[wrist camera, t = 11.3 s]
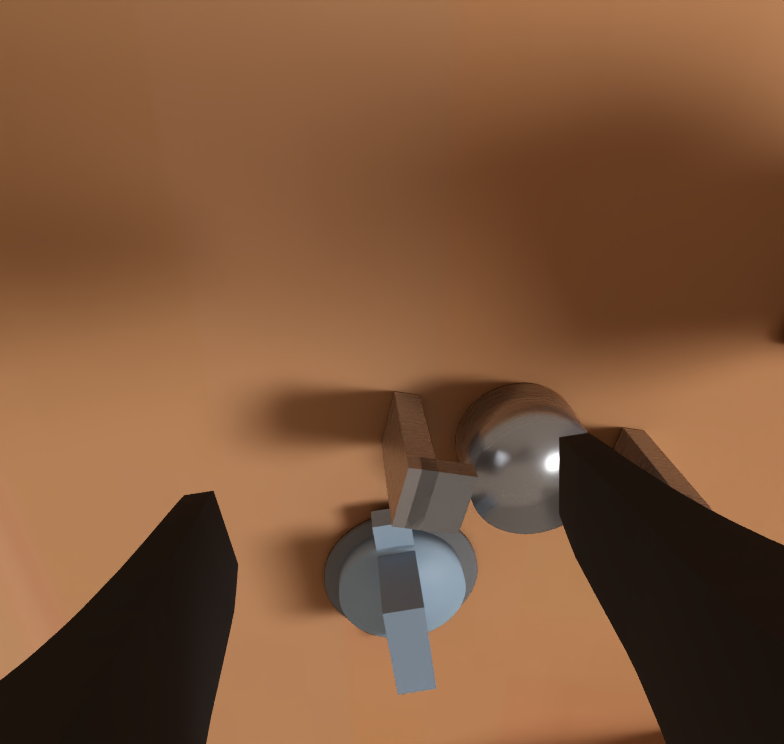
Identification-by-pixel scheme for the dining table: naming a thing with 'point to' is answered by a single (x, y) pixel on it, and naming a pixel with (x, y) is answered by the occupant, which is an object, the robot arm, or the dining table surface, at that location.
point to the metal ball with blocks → (496, 462)
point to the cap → (402, 594)
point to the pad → (366, 531)
